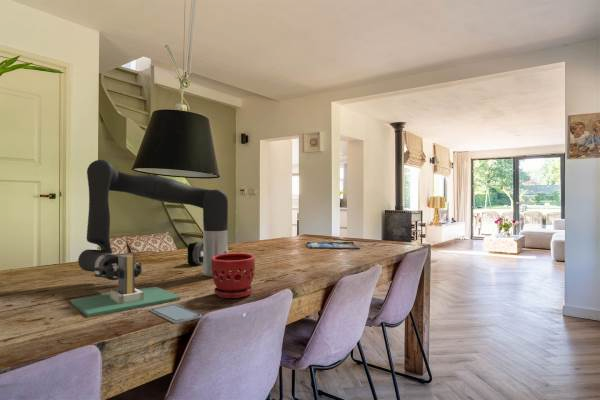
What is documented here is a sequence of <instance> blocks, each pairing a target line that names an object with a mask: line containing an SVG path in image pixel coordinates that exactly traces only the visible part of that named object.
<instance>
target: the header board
mask: <svg viewBox="0 0 600 400" xmlns="http://www.w3.org/2000/svg"><path fill="white" fill-rule="evenodd" d="M175 301H181V296H179V295H176V294H175V293H172V292H169V291H167V290H164V289H163V288H160V287H158V286H150V287H144V288H138V289H137V288H136V287H135V293H131V294H120V293H118V289H114V290H113V289H112V290H109V293H105V294H104V293H103V294H98V295H91V296H86V297H79V298H74V299H71V300H70V303H71V304H72V305H73V306H74V308H75V307H76V308H77V309H78V310H79V312H81V313H82V314H83V315H85V316H86V317H87V318H91V317H96V316H102V315H107V314H113V313H117V312H123V311H128V310H133V309H139V308H143V307H149V306H154V305H159V304H164V303H169V302H175Z"/></svg>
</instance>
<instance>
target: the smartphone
mask: <svg viewBox="0 0 600 400" xmlns="http://www.w3.org/2000/svg"><path fill="white" fill-rule="evenodd" d="M149 311H150V312H151V313H153V314H154V315H157V316H159V317H161V318H164V319H165V320H166V321H169V322H171V323H173V324H181V323H185V322H188V321H192V320H197V319H200V318H202V316H203V315H202V314H201V313H199V312H196V311H194V310H192V309H188V308H186V307H184V306H182V305H179V304H176V303H175V304H169V305H163V306H159V307H154V308H150V309H149Z"/></svg>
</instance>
